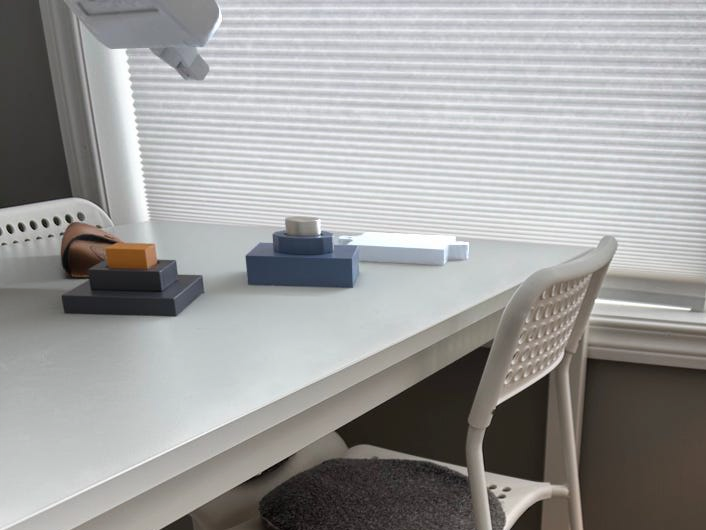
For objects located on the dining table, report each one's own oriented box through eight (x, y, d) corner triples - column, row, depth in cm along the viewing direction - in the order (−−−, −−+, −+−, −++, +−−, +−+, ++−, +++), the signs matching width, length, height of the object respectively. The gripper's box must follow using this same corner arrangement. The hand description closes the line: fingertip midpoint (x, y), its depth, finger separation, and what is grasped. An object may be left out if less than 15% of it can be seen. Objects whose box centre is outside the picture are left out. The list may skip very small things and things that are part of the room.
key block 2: (247, 285, 109) (243, 238, 106) (261, 270, 117) (258, 226, 115) (352, 288, 109) (351, 241, 107) (359, 273, 118) (358, 229, 115)
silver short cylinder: (283, 239, 109) (282, 220, 108) (288, 234, 112) (287, 215, 111) (318, 240, 109) (317, 221, 108) (322, 235, 113) (321, 217, 112)
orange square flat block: (108, 271, 88) (104, 248, 87) (119, 265, 91) (116, 242, 90) (148, 272, 88) (144, 249, 87) (157, 266, 91) (154, 243, 90)
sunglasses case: (142, 272, 110) (103, 218, 106) (92, 306, 110) (51, 254, 106) (133, 249, 125) (98, 201, 121) (88, 279, 124) (52, 232, 120)
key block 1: (67, 331, 86) (56, 274, 84) (107, 305, 97) (98, 253, 94) (178, 334, 87) (171, 277, 84) (206, 307, 97) (200, 256, 95)
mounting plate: (472, 251, 136) (473, 237, 135) (462, 266, 125) (463, 250, 124) (349, 245, 137) (348, 231, 136) (328, 259, 126) (327, 243, 125)
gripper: (19, -19, 90) (133, 98, 101) (119, -33, 78) (236, 103, 89) (55, -72, 91) (164, 51, 102) (160, -94, 78) (272, 48, 89)
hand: (199, 75), depth 95 cm, fingers closed
